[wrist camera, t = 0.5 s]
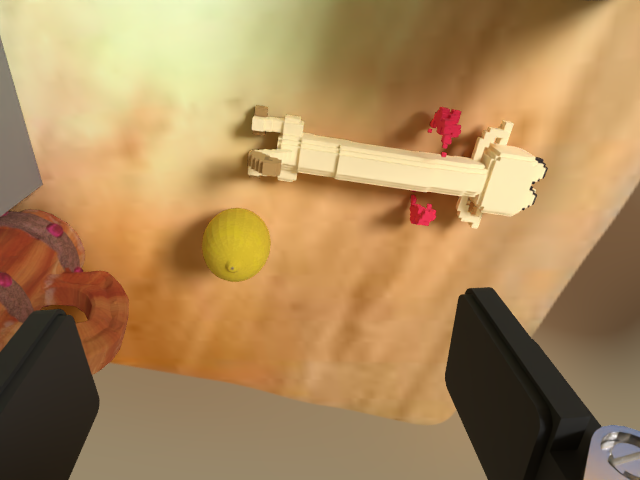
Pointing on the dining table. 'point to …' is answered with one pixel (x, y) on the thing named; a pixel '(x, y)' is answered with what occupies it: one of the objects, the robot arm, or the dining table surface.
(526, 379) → the robot arm
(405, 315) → the dining table surface
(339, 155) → the cat figure
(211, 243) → the lemon
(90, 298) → the mug
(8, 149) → the housing
